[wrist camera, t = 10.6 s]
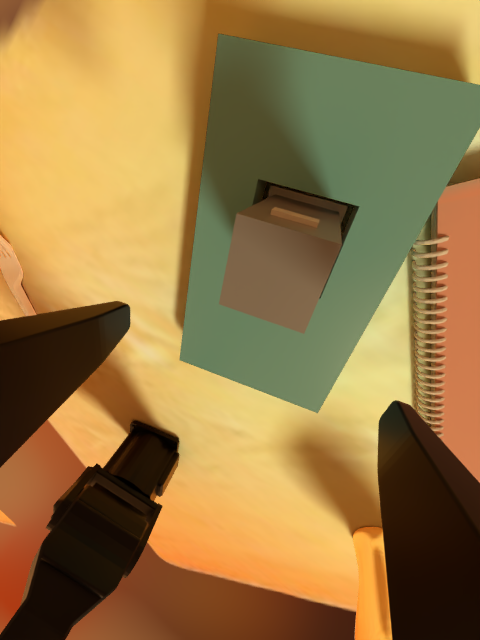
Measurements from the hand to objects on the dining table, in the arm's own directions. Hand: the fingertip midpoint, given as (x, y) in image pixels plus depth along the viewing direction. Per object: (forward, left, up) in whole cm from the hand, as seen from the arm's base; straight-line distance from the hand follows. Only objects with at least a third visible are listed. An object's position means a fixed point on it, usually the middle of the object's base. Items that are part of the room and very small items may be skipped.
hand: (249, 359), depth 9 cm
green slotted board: (0, 0, -12) cm, 12 cm away
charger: (0, +2, -11) cm, 12 cm away
